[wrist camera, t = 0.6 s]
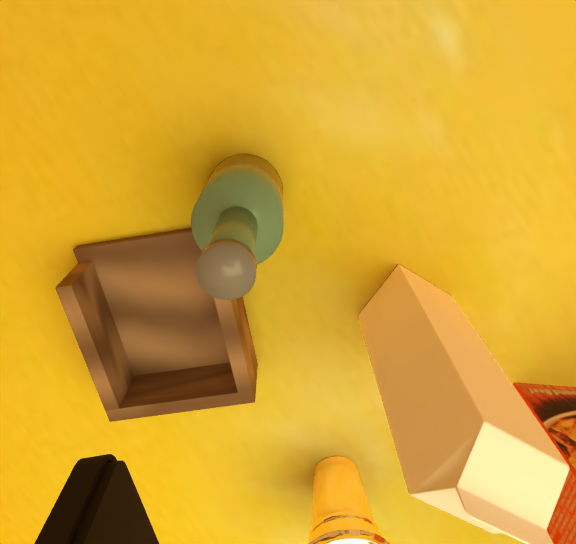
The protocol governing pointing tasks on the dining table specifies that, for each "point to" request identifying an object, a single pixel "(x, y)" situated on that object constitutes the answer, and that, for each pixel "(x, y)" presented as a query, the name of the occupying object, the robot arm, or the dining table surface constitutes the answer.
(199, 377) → the u rest
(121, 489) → the robot arm
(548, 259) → the dining table surface
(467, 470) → the milk
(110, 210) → the dining table surface
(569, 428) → the pasta box
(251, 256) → the bottle
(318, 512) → the cup with straw
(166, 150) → the dining table surface
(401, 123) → the dining table surface
